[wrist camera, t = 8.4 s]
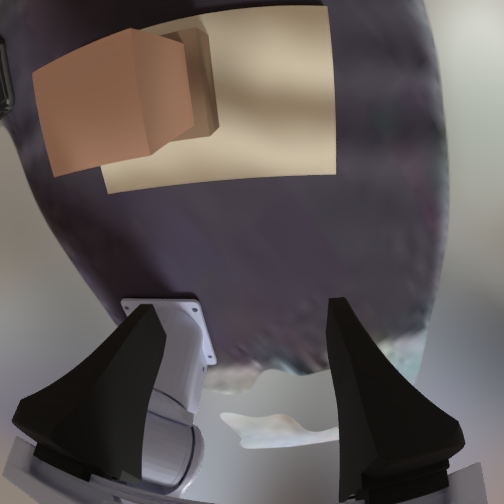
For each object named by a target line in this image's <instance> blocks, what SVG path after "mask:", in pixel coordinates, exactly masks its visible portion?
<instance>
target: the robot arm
mask: <svg viewBox="0 0 504 504" xmlns="http://www.w3.org/2000/svg"><path fill="white" fill-rule="evenodd" d="M121 305H122V307H123V309H124V311H125V313H126V315H127V318H126V319H125V320H124V321H123V322H122V323H121V324H120V325H119V326H118V328H117V329H116V330H115V331H114V332H113V333H112V334H111V335H110V336H109V337H108V338H107V339H106V340H105V341H104V342H103V343H102V344H101V345H100V346H99V347H98V348H97V349H96V350H95V351H94V352H93V353H92V354H91V355H89V356H88V357H87V358H86V359H85V360H84V361H83V362H81V363H80V364H79V365H78V366H76V367H75V368H74V369H73V370H71V371H70V372H68V373H67V374H66V375H64V376H63V377H62V378H60V379H59V380H57V381H55V382H54V383H52V384H51V385H49V386H47V387H46V388H44V389H42V390H40V391H38V392H36V393H35V394H32V395H30V396H28V397H26V398H24V399H22V400H20V403H19V405H18V407H17V409H16V412H15V414H14V416H13V419H12V423H13V424H14V425H15V426H16V427H17V428H19V429H20V430H21V431H22V432H24V433H25V434H26V435H28V436H29V437H30V438H32V439H33V440H35V441H36V442H37V445H36V447H35V446H34V445H32V444H30V443H28V442H27V441H25V440H23V439H21V438H19V437H18V436H17V437H16V438H15V440H14V443H13V446H12V448H11V451H10V454H9V456H8V459H7V462H6V465H5V468H4V471H3V474H2V475H3V476H4V477H5V478H6V479H7V480H9V481H10V482H12V483H13V484H14V485H16V486H17V487H18V488H19V489H21V490H22V491H23V492H25V493H26V494H27V495H29V496H30V497H31V498H33V499H34V500H35V501H36V502H38V503H39V504H213V503H204V502H198V501H192V500H186V499H181V498H182V496H183V495H184V493H185V491H186V489H187V488H188V487H189V485H191V484H192V483H193V482H194V480H195V479H196V477H197V475H198V473H199V471H200V468H201V465H202V462H203V457H204V439H203V437H202V435H201V432H200V430H199V428H198V427H197V426H195V425H193V424H192V423H193V418H194V416H195V414H196V413H197V411H198V409H199V405H200V400H201V395H202V390H203V385H204V379H205V374H206V369H207V364H210V365H214V364H216V363H217V359H216V356H215V352H214V349H213V346H212V343H211V339H210V336H209V333H208V330H207V326H206V323H205V319H204V316H203V313H202V309H201V306H200V303H199V301H198V300H196V299H135V298H123V299H122V300H121ZM194 308H196V309H194ZM326 340H327V351H328V359H329V364H330V369H331V374H332V379H333V384H334V390H335V395H336V400H337V408H338V421H339V443H340V480H339V503H338V504H487V496H486V490H485V484H484V478H483V473H482V468H481V464H480V463H479V462H477V463H475V464H473V465H471V466H468V467H466V468H463V469H461V470H458V471H456V472H454V473H451V474H449V475H447V470H446V469H448V468H449V466H450V465H449V460H448V459H449V458H451V457H452V456H453V455H455V454H456V453H458V452H459V451H460V450H461V449H462V448H463V447H464V445H465V440H464V436H463V432H462V429H461V427H460V425H459V422H458V421H457V420H455V419H454V418H453V417H451V416H450V415H448V414H447V413H445V412H444V411H442V410H441V409H440V408H438V407H437V406H436V405H435V404H433V403H432V402H430V401H429V400H428V399H427V398H426V397H425V396H424V395H422V394H421V393H420V392H419V391H418V390H417V389H416V388H414V386H412V385H411V384H410V383H409V382H408V381H407V380H406V379H405V378H404V377H403V376H402V375H401V374H400V373H399V372H398V370H397V369H396V368H395V367H394V366H393V365H392V364H391V363H390V362H389V360H388V359H387V358H386V357H385V356H384V354H383V353H382V352H381V350H380V349H379V348H378V347H377V345H376V344H375V343H374V341H373V340H372V339H371V337H370V336H369V334H368V333H367V331H366V330H365V329H364V327H363V326H362V324H361V323H360V321H359V319H358V318H357V316H356V315H355V313H354V311H353V310H352V308H351V306H350V305H349V303H348V301H347V299H346V298H345V297H341V298H329V304H328V316H327V326H326Z"/></svg>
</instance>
